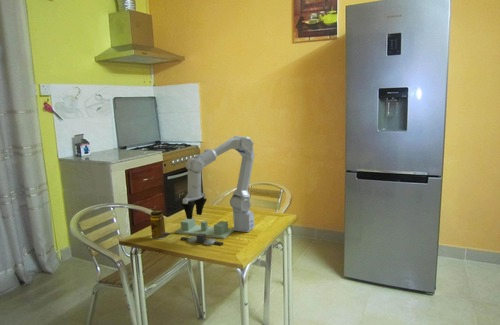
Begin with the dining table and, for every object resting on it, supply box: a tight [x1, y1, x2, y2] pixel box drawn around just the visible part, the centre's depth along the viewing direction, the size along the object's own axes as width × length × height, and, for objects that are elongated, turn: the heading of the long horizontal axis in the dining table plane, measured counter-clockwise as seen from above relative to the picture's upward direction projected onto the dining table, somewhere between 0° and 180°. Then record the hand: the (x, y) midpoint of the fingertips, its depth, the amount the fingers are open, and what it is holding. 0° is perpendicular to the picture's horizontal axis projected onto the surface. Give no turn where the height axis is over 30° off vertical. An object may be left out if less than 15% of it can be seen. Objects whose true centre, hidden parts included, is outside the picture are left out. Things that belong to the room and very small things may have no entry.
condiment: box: [149, 209, 172, 240], centre depth 154 cm, size 7×8×12 cm
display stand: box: [174, 217, 235, 240], centre depth 156 cm, size 26×10×5 cm, turn 67°
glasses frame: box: [180, 233, 224, 246], centre depth 144 cm, size 21×5×3 cm, turn 67°
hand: (194, 216), depth 144 cm, fingers open, 7 cm apart
